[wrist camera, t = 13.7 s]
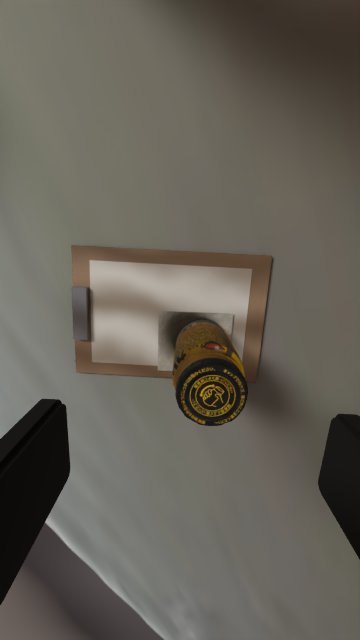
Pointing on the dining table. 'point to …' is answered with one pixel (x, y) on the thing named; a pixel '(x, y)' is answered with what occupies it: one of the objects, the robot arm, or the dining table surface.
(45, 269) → the dining table surface
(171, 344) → the condiment
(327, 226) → the dining table surface
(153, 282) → the clipboard
